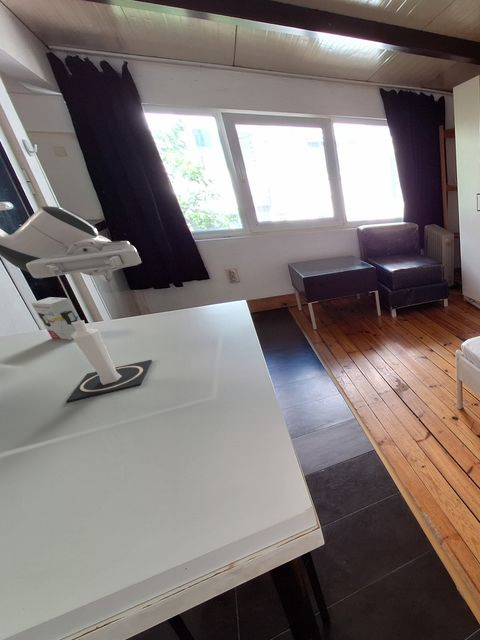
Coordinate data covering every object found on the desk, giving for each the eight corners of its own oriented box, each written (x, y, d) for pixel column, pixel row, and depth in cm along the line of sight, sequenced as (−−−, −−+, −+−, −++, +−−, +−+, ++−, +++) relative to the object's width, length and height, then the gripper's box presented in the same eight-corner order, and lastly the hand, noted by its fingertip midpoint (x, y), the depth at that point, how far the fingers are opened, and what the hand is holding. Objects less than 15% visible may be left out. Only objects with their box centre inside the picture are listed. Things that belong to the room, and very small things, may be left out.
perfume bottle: (106, 386, 84) (71, 327, 77) (94, 383, 85) (58, 325, 79) (128, 376, 88) (96, 319, 81) (116, 374, 89) (84, 317, 82)
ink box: (51, 338, 113) (28, 302, 108) (69, 331, 117) (48, 297, 112) (71, 340, 111) (49, 303, 106) (89, 333, 115) (68, 298, 110)
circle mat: (67, 402, 80) (65, 400, 80) (87, 374, 91) (86, 373, 90) (140, 384, 85) (139, 382, 85) (152, 360, 96) (151, 358, 96)
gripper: (29, 252, 89) (10, 262, 79) (135, 239, 99) (131, 247, 89) (43, 277, 92) (28, 290, 82) (145, 262, 102) (142, 272, 92)
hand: (83, 267), depth 85 cm, fingers open, 8 cm apart
